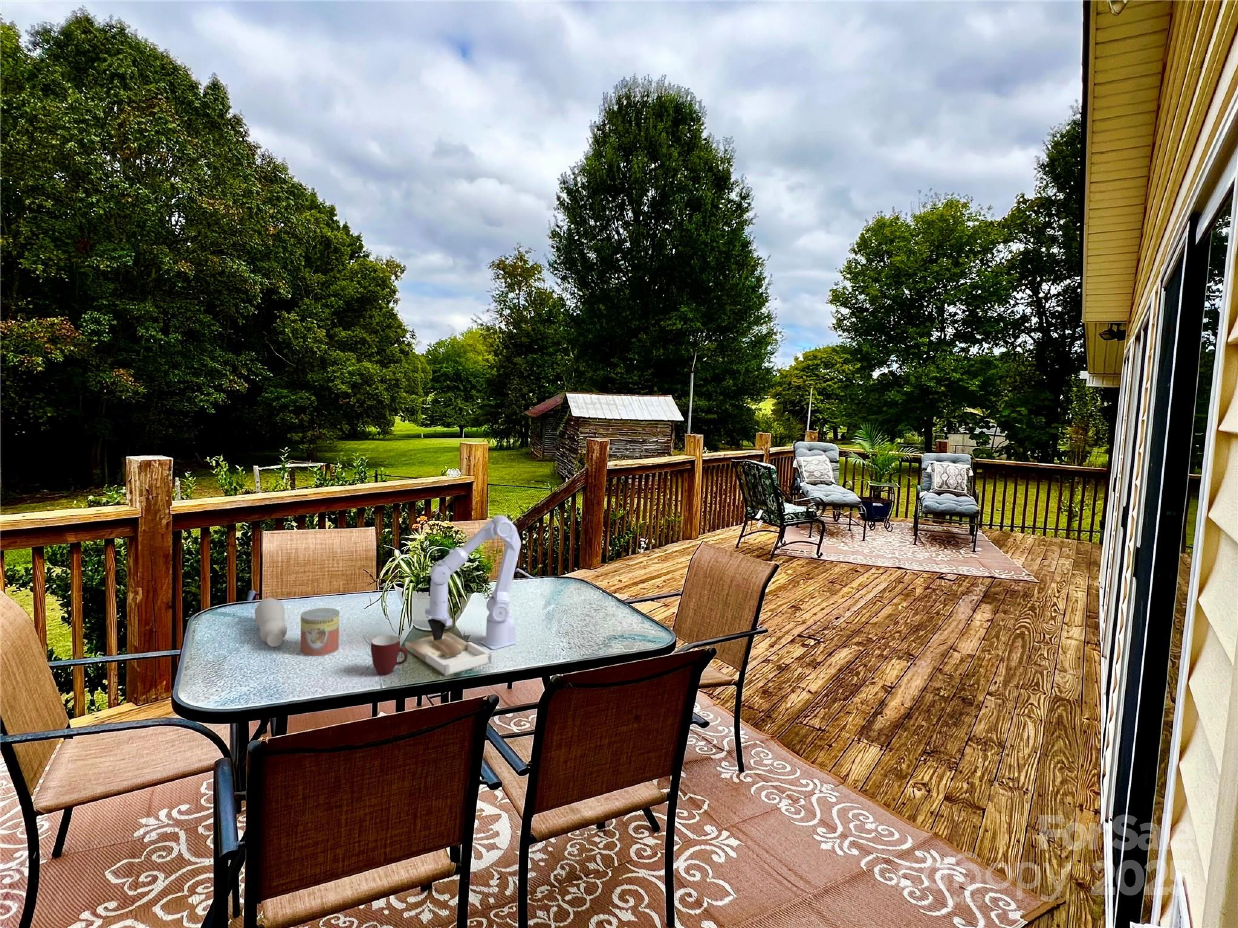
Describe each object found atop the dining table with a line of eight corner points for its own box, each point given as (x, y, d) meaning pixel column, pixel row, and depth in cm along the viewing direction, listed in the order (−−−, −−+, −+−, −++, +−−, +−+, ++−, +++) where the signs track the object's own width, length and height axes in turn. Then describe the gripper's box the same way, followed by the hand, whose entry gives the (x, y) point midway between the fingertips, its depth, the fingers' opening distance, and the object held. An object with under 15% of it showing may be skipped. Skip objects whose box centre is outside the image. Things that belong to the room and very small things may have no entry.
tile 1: (445, 642, 210) (445, 637, 210) (453, 646, 206) (453, 642, 206) (431, 645, 206) (431, 641, 206) (439, 650, 203) (439, 645, 203)
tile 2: (453, 645, 206) (453, 641, 206) (460, 653, 203) (461, 649, 203) (439, 649, 203) (440, 645, 202) (446, 657, 199) (447, 653, 199)
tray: (470, 650, 209) (470, 641, 209) (491, 662, 200) (491, 653, 200) (425, 662, 198) (425, 652, 198) (445, 675, 189) (445, 666, 189)
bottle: (248, 614, 222) (252, 646, 197) (265, 591, 224) (270, 621, 199) (272, 624, 226) (279, 657, 201) (288, 603, 228) (297, 633, 203)
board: (448, 637, 219) (449, 632, 219) (470, 650, 209) (470, 644, 209) (405, 648, 208) (405, 642, 208) (425, 661, 198) (425, 655, 198)
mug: (408, 665, 195) (409, 634, 194) (406, 676, 187) (407, 644, 186) (371, 667, 192) (372, 635, 191) (368, 679, 184) (369, 645, 183)
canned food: (296, 657, 196) (296, 620, 195) (304, 643, 207) (304, 608, 206) (335, 655, 199) (336, 618, 198) (341, 642, 210) (342, 607, 209)
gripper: (417, 596, 210) (416, 636, 211) (438, 608, 199) (437, 650, 201) (436, 593, 215) (435, 632, 216) (458, 604, 204) (457, 645, 206)
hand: (437, 640), depth 209 cm, fingers closed
